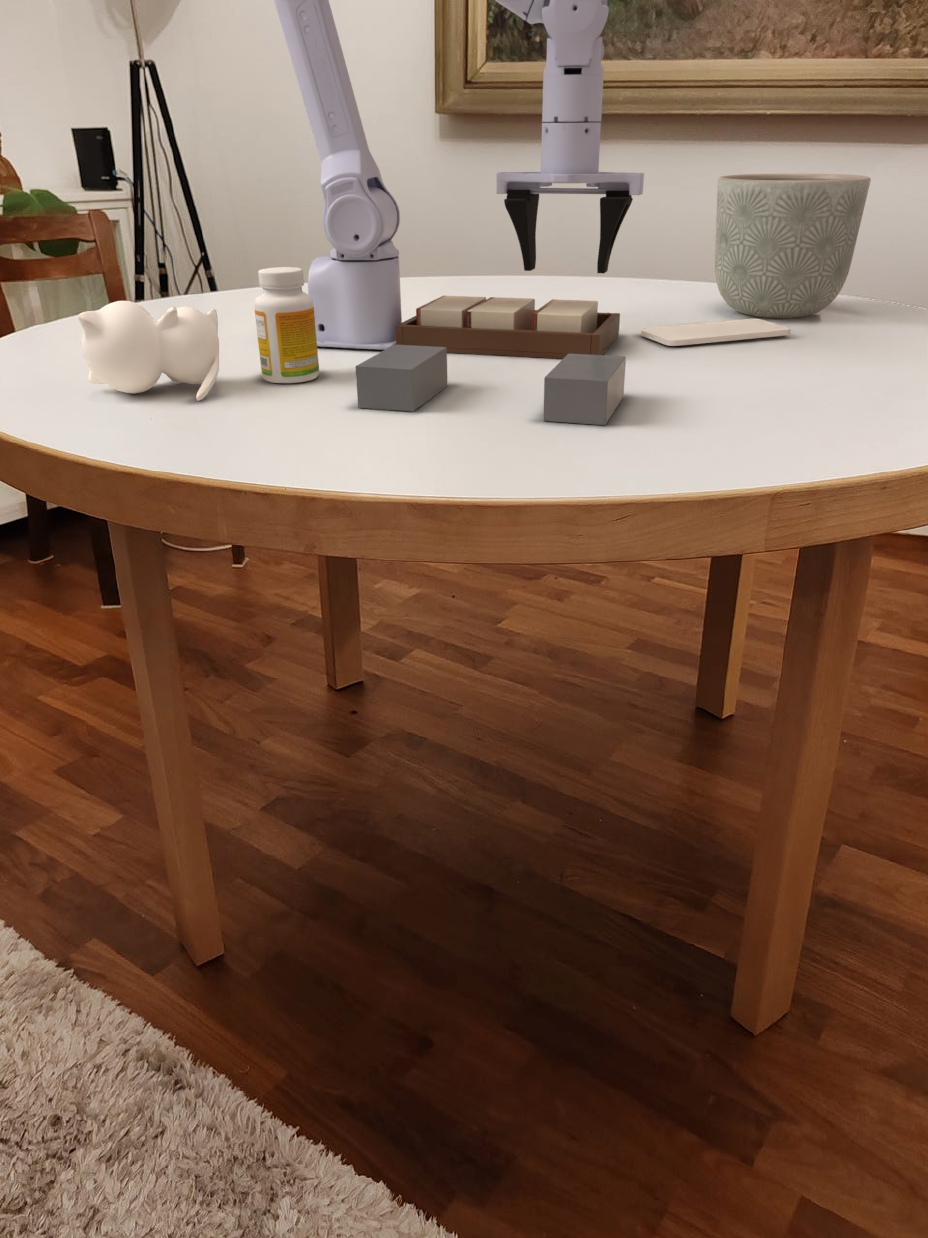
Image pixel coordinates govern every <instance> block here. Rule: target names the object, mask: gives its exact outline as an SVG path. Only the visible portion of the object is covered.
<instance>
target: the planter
mask: <svg viewBox="0 0 928 1238" xmlns="http://www.w3.org/2000/svg"><path fill="white" fill-rule="evenodd" d="M871 181H872V179H871V177H870V176H867V175H859V174H845V173H844V174H841V173H840V174H839V173H748V174H747V173H746V174H729V175H722V176H719V177H718V178H717V187H716V188H717V191H716V215H715V217H716V219H715V220H716V221H715V250H714V274H715V281H716V286H717V289H718V292H719V295H720V296H721V297H722V299H723V301H724V302H725V303H726V305H727V306H729V307H730V308H731V309H733V310H734V311H736V312H738V313H741V314H744V315H748V316H753V317H757V318H758V317H759V318H768V319H769V318H772V319H794V318H802V317H809V316H812V315H815V314H817V313H819V312H821V311H822V310H825V309H826V308H827V307H828V306H829V305H831V303H833V302H834V301H835V300H836V298H837V297H838V296H839V294H840V293H841V290H842V289H843V287H844V285H845V283H846V281H847V278H848V276H849V273H850V269H851V265H852V261H853V257H854V253H855V249H856V244H857V240H858V237H859V236H858V235H859V231H860V227H861V224H862V223H861V222H862V219H863V215H864V210H865V207H866V202H867V198H868V193H869V189H870V185H871Z"/></svg>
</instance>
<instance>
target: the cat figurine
mask: <svg viewBox="0 0 928 1238" xmlns="http://www.w3.org/2000/svg"><path fill="white" fill-rule="evenodd" d="M218 319H219V317H218V312H217V309H216V308H212V309H211V310H210V311H208V312H207V313H205V312H202V311H200V310H199V309H197V308H194V307H192V306H180V307H176V306H171V307H170V308H168V309H167V310H166V311H165V312H164V313H163V315H162V316H160V317H159V318H158V319H157V320H156V319H155V318H154V316H153V315H152V314H151V313H150V312H149V311H148V310H147V309H146V308H145V307H143V306H141V305H140V304H139V303H136V302H133V301H129V300H116V301H113V302H110V303H107V304H106V305H104V306H102V307H101V308H100V309H98V310H86V311H82V312H81V313H79V314H78V320H79V322H80V325H81V328H82V330H83V331H82V334H81V335H82V336H81V339H80V340H81V341H80V348H81V353H82V357H83V359H84V362H85V363H86V365H87V367H88V382H90V383H91V384H96V385H106V386H108V387H110V388H112V389H113V390H116V391H119V392H122V393H124V394H132V395H133V394H141V393H145V392H147V391H149V390H150V389H152V388H153V387H154V385H156V384H157V382H158V381H159V379H160V378H161V375H162V374H164V375H165V376H166V377H167V378H168V379H169V380H171V381H172V382H173V383H176V384H180V383H181V382H182V383H185V384H190V385H196V384H200V383H201V385H200V386H199V389H198V390H197V393H196V395H195V398H196V401H202V400H203V399H204V398H205V397H206V396H207V395H208V393H209V392H210V391H211V389H212V388H213V386H214V385H215V382H216V381H217V377H218V374H219V371H220V340H219V320H218Z"/></svg>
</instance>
